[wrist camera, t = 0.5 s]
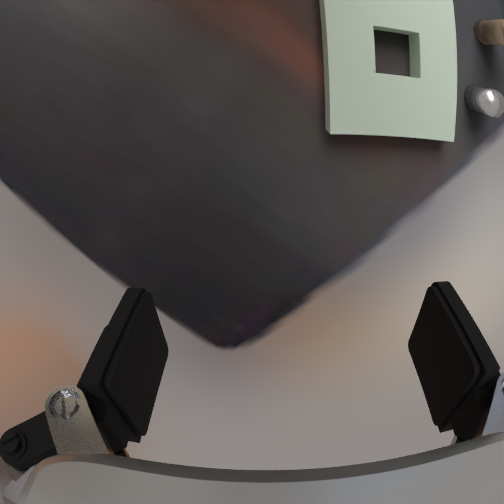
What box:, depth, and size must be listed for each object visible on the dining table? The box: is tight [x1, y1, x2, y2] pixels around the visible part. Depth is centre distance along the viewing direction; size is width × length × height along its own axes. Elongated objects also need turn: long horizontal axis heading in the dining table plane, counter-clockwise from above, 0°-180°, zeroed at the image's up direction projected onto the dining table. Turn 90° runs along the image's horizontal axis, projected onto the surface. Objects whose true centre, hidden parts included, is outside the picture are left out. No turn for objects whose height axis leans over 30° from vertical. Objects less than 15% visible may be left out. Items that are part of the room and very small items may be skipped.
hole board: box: [319, 0, 457, 142], centre depth 28 cm, size 20×16×3 cm
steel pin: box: [464, 86, 504, 118], centre depth 28 cm, size 4×4×5 cm
